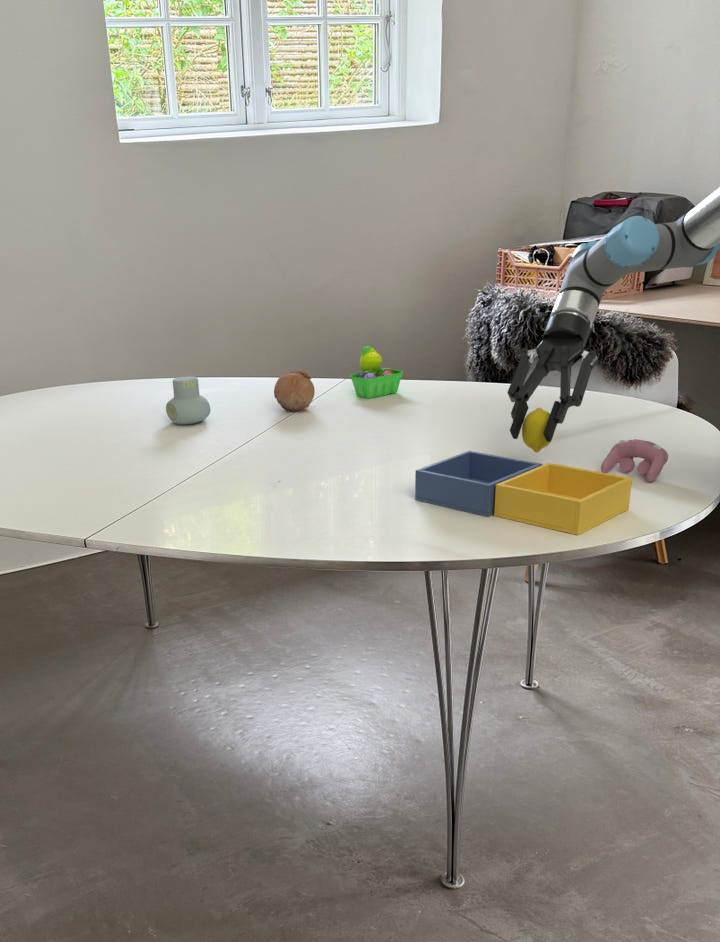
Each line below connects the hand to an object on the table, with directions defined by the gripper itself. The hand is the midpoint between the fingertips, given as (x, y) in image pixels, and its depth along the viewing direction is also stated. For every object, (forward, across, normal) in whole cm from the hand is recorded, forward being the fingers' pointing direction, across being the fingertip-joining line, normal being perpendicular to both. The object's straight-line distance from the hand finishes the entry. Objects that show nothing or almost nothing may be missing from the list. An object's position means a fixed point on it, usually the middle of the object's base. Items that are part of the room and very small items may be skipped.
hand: (530, 436), depth 166 cm
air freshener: (-2, +85, -10) cm, 86 cm away
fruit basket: (-30, +58, -39) cm, 76 cm away
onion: (-15, +68, -24) cm, 73 cm away
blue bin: (+16, +2, +7) cm, 18 cm away
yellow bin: (+18, -12, +8) cm, 23 cm away
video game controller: (+1, -16, -9) cm, 19 cm away
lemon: (0, 0, -6) cm, 6 cm away
